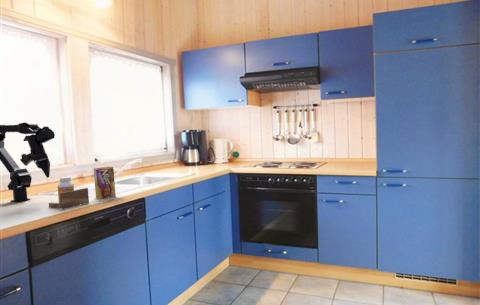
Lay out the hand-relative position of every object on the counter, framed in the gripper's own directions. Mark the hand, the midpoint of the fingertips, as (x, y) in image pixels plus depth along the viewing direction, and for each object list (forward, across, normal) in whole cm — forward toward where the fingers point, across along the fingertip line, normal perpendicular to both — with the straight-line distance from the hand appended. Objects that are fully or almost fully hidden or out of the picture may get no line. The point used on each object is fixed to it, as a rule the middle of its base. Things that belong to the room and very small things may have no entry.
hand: (47, 176), depth 179 cm
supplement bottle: (+17, +12, +4) cm, 21 cm away
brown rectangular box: (+18, +13, +4) cm, 22 cm away
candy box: (+20, +2, +21) cm, 29 cm away
